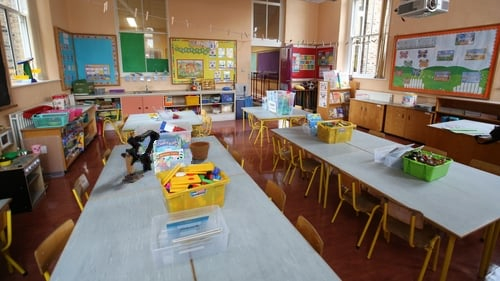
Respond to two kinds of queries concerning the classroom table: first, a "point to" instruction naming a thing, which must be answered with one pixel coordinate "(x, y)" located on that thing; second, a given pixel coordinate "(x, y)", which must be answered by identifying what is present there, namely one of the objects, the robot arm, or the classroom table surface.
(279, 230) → the classroom table surface
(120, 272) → the classroom table surface
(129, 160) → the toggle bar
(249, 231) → the classroom table surface
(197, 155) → the flower pot
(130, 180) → the keeper
